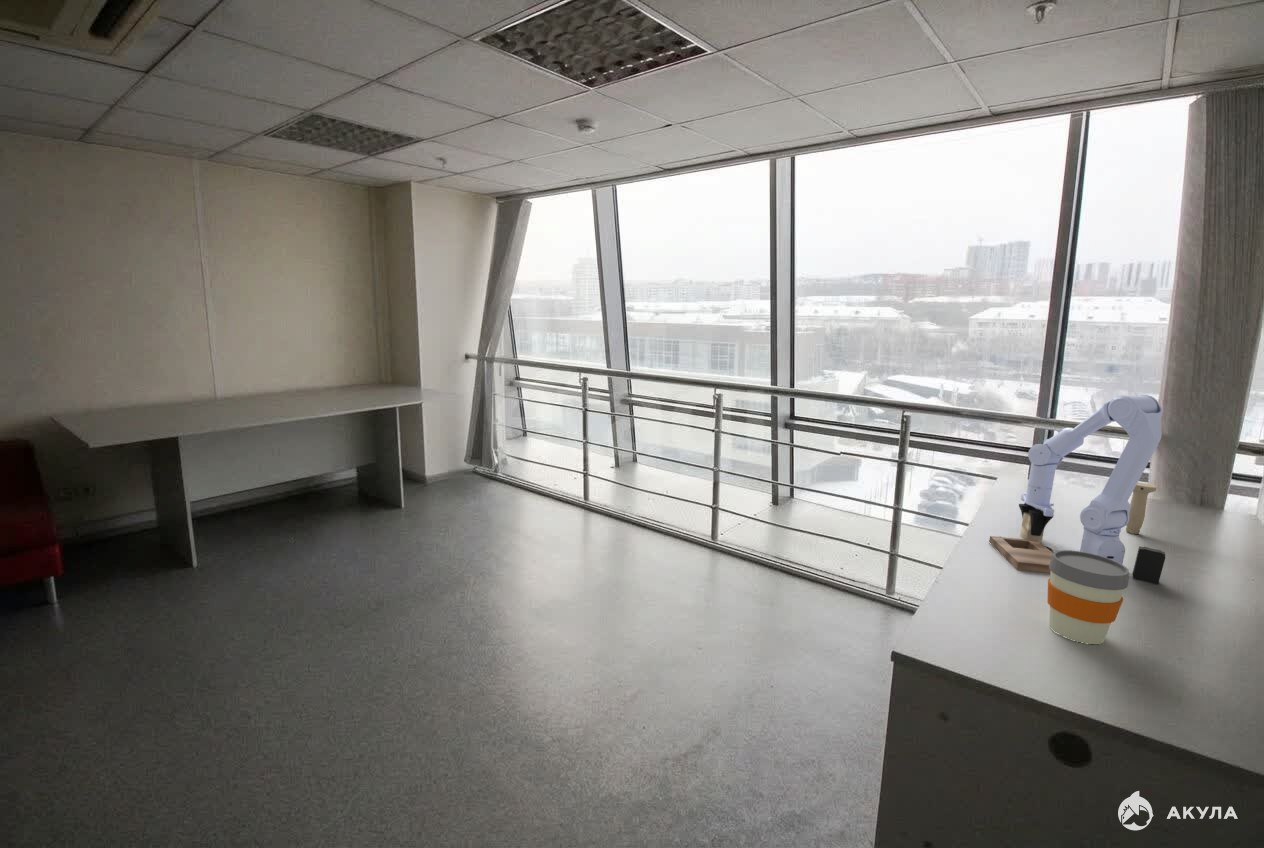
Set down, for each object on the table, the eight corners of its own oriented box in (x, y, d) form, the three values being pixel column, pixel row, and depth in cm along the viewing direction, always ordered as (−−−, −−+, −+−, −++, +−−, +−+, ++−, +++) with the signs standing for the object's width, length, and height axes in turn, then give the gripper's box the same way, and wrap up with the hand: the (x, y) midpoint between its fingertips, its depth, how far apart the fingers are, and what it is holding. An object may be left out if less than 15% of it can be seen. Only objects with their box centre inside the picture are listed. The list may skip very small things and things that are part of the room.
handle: (1146, 537, 178) (1157, 488, 175) (1118, 532, 182) (1128, 483, 179) (1145, 533, 182) (1156, 485, 179) (1118, 527, 185) (1128, 480, 183)
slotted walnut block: (1070, 575, 149) (1071, 567, 149) (1017, 569, 151) (1018, 561, 151) (1036, 547, 166) (1037, 540, 166) (988, 542, 168) (990, 535, 168)
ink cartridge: (1157, 581, 147) (1165, 551, 146) (1158, 585, 146) (1166, 553, 144) (1131, 575, 150) (1139, 545, 149) (1132, 578, 149) (1139, 547, 147)
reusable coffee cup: (1042, 610, 130) (1054, 544, 127) (1116, 632, 122) (1131, 562, 119) (1034, 633, 120) (1047, 562, 118) (1114, 658, 113) (1130, 582, 110)
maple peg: (1041, 542, 171) (1046, 518, 169) (1026, 540, 171) (1030, 517, 170) (1035, 537, 175) (1039, 513, 173) (1019, 535, 175) (1023, 512, 174)
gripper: (1069, 495, 162) (1060, 543, 165) (1042, 480, 176) (1034, 525, 179) (1040, 493, 163) (1032, 540, 166) (1016, 478, 177) (1009, 522, 180)
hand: (1031, 532), depth 173 cm, fingers closed on maple peg, 4 cm apart
